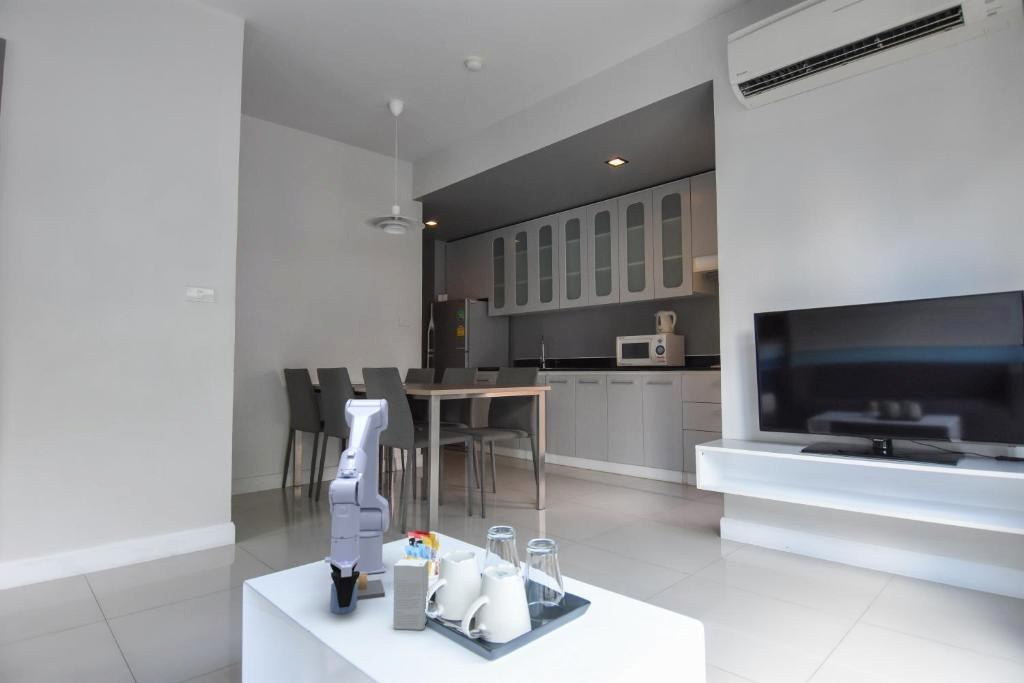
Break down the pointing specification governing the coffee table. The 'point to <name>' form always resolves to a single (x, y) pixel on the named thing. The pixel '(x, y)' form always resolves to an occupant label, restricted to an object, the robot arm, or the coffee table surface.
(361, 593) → the plate
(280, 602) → the coffee table surface
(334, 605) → the cap
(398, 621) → the skincare box
